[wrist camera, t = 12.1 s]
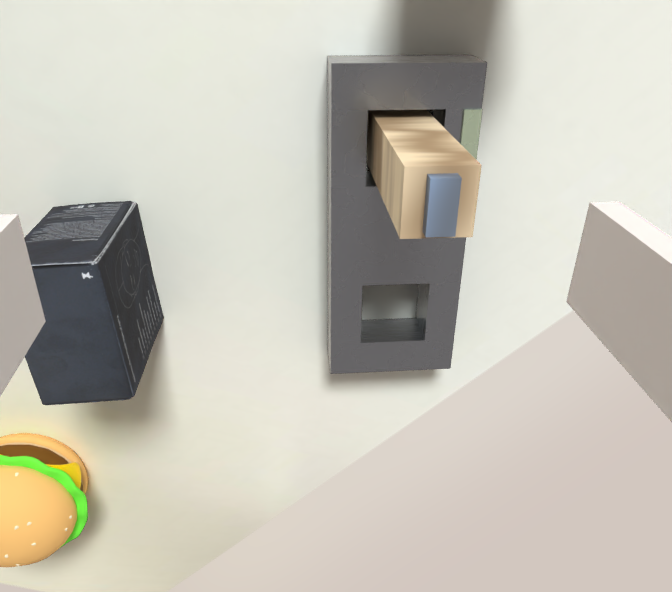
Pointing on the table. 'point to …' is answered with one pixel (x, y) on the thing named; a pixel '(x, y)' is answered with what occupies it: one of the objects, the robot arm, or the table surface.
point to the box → (92, 303)
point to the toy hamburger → (39, 498)
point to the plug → (422, 174)
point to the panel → (374, 220)
